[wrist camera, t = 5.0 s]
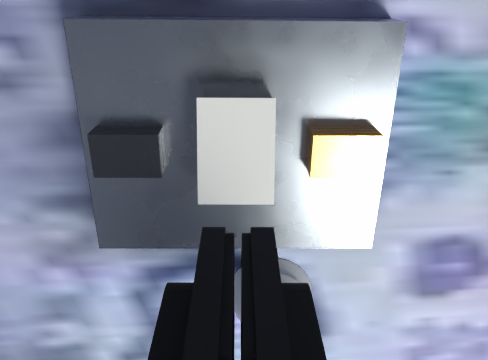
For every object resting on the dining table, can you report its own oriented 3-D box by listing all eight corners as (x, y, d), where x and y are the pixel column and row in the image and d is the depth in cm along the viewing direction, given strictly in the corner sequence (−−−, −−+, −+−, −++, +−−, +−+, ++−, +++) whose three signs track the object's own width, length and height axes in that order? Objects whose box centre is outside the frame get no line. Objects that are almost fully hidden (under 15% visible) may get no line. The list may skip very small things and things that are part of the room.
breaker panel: (361, 228, 24) (378, 262, 21) (110, 228, 23) (91, 262, 21) (391, 18, 19) (419, 23, 16) (80, 15, 19) (51, 20, 16)
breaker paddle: (271, 197, 19) (273, 204, 18) (200, 197, 19) (197, 204, 18) (273, 99, 18) (275, 98, 17) (199, 98, 18) (196, 97, 17)
